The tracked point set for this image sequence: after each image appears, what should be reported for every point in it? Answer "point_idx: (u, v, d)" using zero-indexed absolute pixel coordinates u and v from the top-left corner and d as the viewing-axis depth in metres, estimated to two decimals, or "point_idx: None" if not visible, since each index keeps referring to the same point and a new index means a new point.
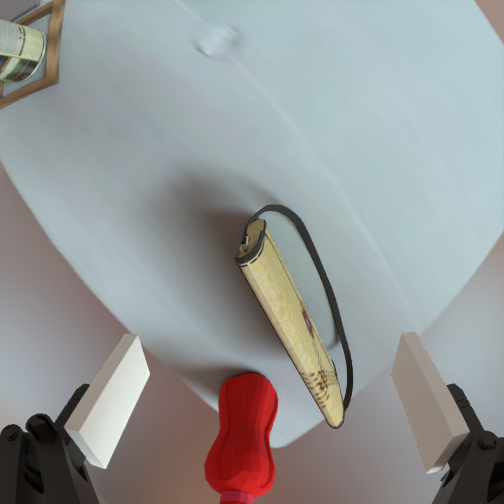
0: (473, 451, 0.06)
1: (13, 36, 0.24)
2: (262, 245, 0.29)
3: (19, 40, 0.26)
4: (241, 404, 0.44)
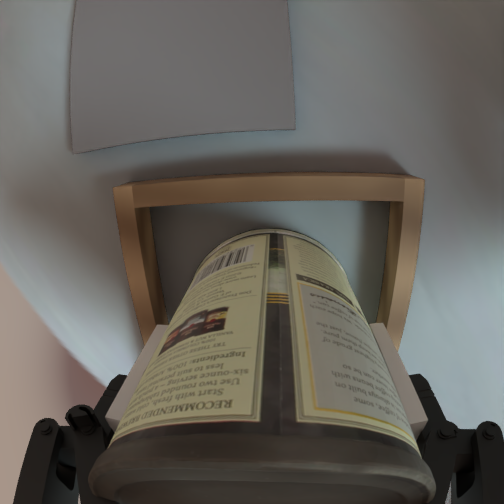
0: (432, 442, 0.07)
1: None
2: None
3: None
4: None
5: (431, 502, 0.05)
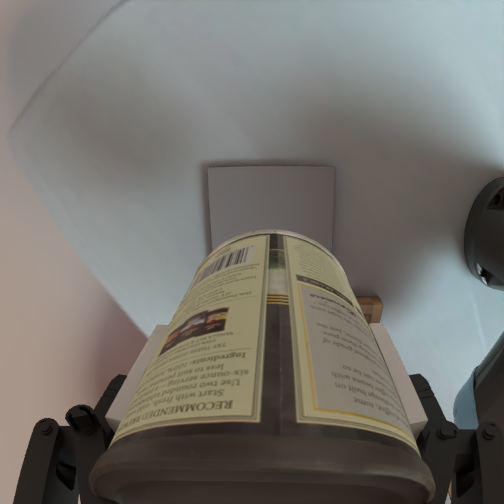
0: (432, 442, 0.07)
1: None
2: None
3: None
4: None
5: (431, 502, 0.05)
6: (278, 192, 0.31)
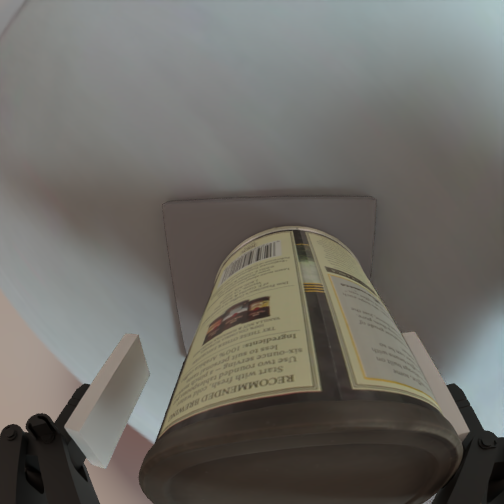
0: (473, 451, 0.06)
1: None
2: None
3: None
4: None
5: None
6: None
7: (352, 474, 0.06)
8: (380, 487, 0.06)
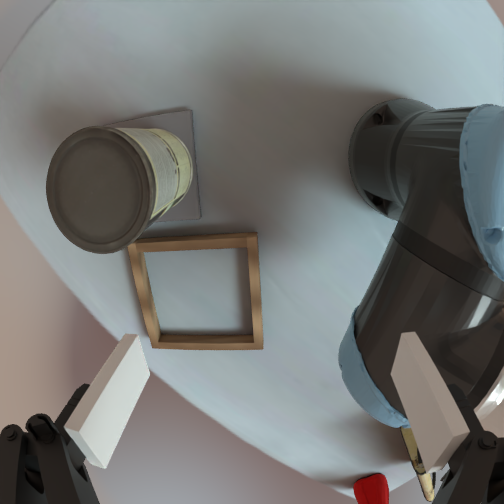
0: (473, 451, 0.06)
1: (171, 173, 0.26)
2: None
3: (176, 176, 0.27)
4: (374, 495, 0.54)
5: None
6: None
7: (101, 158, 0.20)
8: (115, 172, 0.21)
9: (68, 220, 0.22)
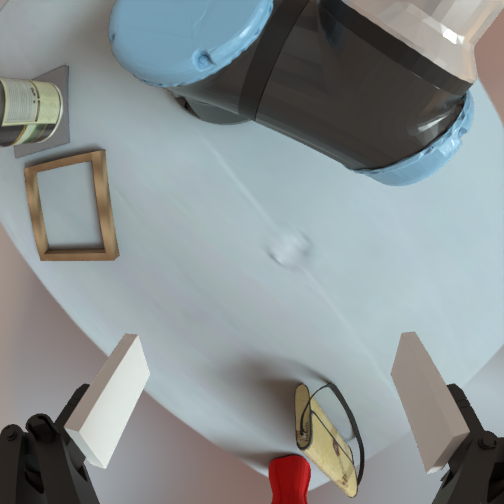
0: (473, 451, 0.06)
1: (26, 101, 0.28)
2: (312, 431, 0.40)
3: (33, 104, 0.29)
4: (288, 479, 0.54)
5: None
6: None
7: None
8: None
9: None
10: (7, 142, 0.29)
